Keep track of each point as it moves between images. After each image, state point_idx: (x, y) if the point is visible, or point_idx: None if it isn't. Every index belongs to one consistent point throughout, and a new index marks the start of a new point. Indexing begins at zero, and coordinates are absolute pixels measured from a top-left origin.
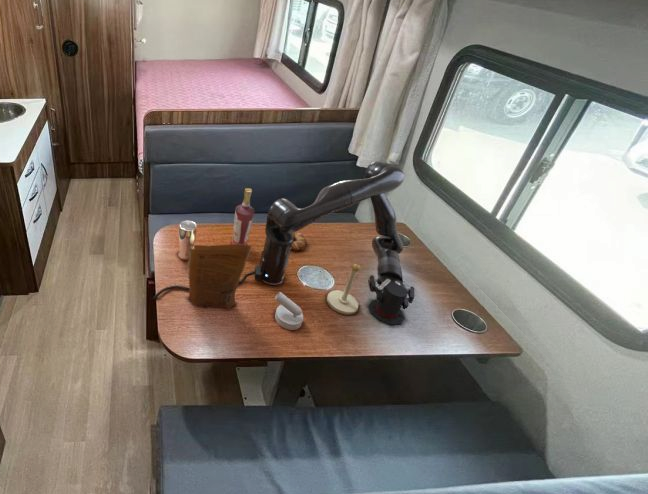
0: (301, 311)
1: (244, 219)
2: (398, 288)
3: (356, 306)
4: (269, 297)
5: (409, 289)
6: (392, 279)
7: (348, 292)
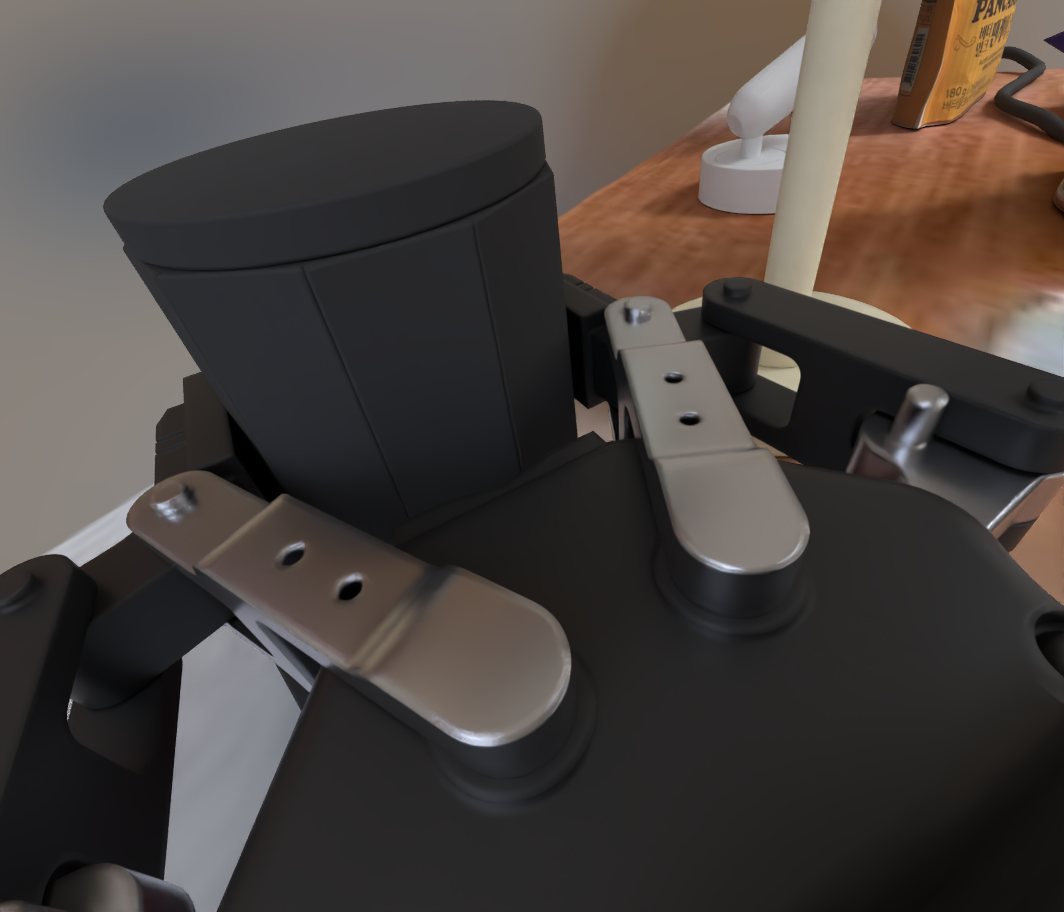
0: (736, 103)
1: None
2: (305, 163)
3: None
4: (936, 182)
5: (17, 908)
6: (759, 861)
7: (776, 207)
